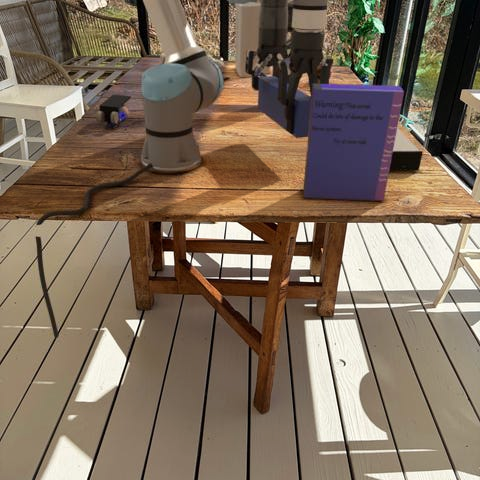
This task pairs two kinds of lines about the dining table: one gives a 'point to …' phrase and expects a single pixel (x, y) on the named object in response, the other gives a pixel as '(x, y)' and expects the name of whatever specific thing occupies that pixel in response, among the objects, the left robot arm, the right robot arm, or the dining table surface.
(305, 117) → the bar
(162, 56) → the toy
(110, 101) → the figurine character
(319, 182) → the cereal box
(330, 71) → the anatomical model
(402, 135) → the disc drive
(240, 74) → the tall white block
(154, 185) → the dining table surface
